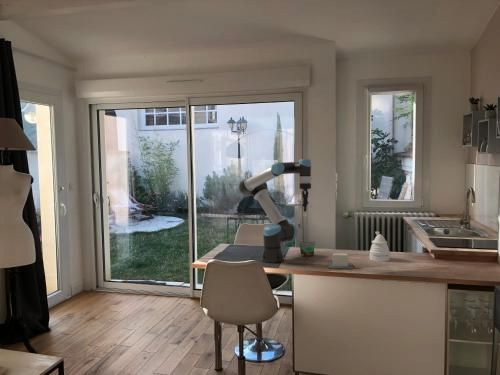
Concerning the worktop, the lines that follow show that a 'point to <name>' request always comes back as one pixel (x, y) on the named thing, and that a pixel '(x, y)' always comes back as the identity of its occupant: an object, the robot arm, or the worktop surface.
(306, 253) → the food container
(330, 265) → the rubber mat
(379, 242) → the honey pot
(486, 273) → the worktop surface
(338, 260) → the card box
